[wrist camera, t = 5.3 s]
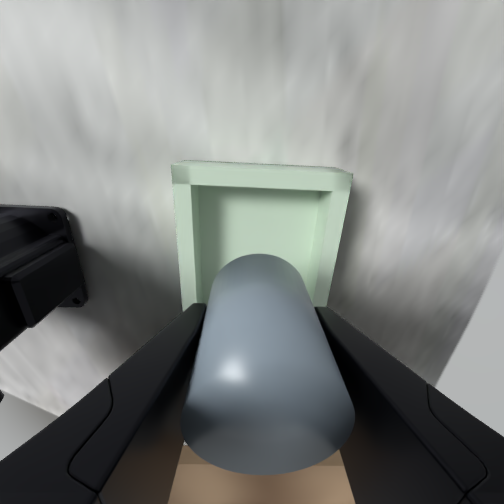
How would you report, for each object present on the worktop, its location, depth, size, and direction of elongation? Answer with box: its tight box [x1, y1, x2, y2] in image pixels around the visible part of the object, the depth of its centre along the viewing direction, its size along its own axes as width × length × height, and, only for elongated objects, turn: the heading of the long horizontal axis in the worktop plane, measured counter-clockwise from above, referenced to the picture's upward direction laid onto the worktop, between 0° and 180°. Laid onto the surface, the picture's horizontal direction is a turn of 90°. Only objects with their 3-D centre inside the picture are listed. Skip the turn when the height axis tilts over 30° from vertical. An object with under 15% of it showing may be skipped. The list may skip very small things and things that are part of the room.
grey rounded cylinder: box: [180, 254, 355, 475], centre depth 7 cm, size 3×3×4 cm
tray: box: [171, 160, 353, 311], centre depth 15 cm, size 8×12×3 cm, turn 177°
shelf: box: [168, 445, 355, 504], centre depth 17 cm, size 15×10×7 cm, turn 87°
